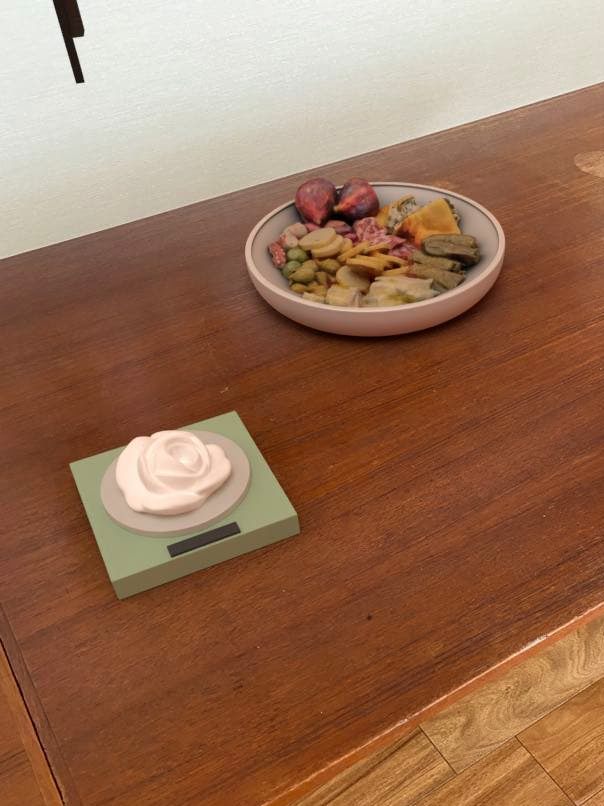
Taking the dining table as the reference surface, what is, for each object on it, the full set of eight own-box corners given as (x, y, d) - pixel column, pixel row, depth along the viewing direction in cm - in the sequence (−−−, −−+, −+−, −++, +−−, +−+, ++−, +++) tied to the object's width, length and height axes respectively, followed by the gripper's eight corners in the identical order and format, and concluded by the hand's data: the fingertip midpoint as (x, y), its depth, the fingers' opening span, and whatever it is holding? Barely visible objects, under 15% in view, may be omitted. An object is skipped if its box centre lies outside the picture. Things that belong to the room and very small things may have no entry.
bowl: (555, 282, 102) (562, 219, 96) (353, 386, 89) (347, 320, 84) (395, 196, 118) (392, 137, 112) (204, 274, 105) (191, 212, 100)
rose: (104, 416, 75) (217, 396, 76) (118, 454, 78) (226, 434, 80) (108, 493, 68) (231, 469, 70) (123, 532, 71) (240, 508, 73)
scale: (119, 600, 71) (108, 575, 68) (76, 482, 80) (65, 456, 78) (300, 533, 75) (296, 507, 73) (239, 429, 85) (233, 403, 83)
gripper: (-324, -214, 55) (-158, 127, 71) (74, -241, 60) (148, 83, 76) (-299, -227, 60) (-149, 95, 76) (67, -251, 65) (138, 55, 81)
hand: (0, 89), depth 76 cm, fingers open, 13 cm apart
